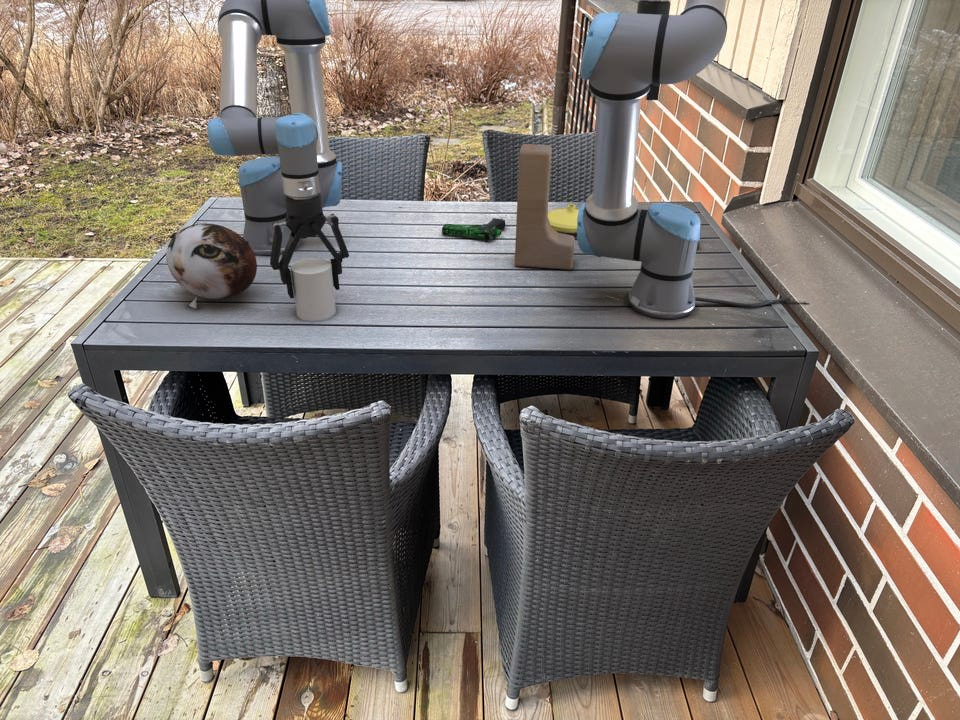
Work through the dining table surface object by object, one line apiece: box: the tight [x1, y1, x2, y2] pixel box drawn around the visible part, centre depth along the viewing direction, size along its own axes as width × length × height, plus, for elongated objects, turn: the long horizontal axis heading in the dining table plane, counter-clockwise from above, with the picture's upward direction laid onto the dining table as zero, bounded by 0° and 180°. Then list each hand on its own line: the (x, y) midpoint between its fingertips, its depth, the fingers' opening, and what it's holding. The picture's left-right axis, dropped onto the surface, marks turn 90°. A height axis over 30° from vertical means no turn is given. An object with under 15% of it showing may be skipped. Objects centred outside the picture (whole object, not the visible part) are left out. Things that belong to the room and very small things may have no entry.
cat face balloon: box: [165, 222, 258, 309], centre depth 165 cm, size 22×18×20 cm
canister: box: [289, 257, 337, 322], centre depth 160 cm, size 9×9×12 cm
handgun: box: [441, 217, 506, 242], centre depth 207 cm, size 16×3×15 cm
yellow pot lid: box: [547, 203, 580, 234], centre depth 209 cm, size 16×16×7 cm
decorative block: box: [514, 143, 576, 271], centre depth 181 cm, size 8×15×30 cm, turn 82°
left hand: (313, 291), depth 160 cm, fingers open, 10 cm apart
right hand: (642, 94), depth 178 cm, fingers open, 13 cm apart
